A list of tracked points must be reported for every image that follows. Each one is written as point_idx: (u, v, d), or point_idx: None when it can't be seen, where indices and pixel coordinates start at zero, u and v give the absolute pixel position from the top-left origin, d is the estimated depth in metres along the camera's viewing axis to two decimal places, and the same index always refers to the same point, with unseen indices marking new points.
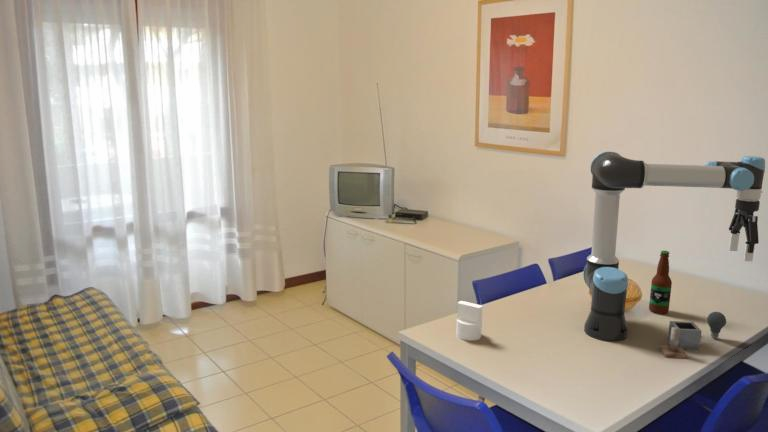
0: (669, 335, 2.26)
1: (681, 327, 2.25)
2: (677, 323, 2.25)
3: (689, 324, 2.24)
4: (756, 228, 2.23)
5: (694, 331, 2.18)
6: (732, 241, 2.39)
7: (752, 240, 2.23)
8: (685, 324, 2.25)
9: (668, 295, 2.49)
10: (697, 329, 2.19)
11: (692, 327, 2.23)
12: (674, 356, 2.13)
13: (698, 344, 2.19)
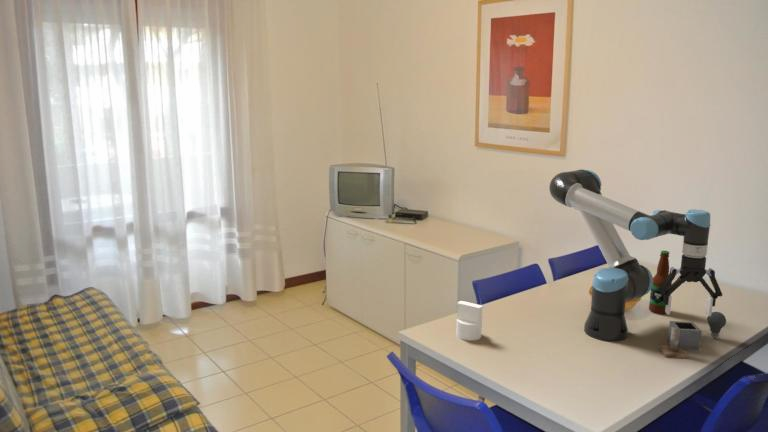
0: (669, 335, 2.26)
1: (681, 327, 2.25)
2: (677, 323, 2.25)
3: (689, 324, 2.24)
4: (668, 280, 2.18)
5: (694, 331, 2.18)
6: (707, 304, 2.20)
7: (659, 289, 2.21)
8: (685, 324, 2.25)
9: None
10: (697, 329, 2.19)
11: (692, 327, 2.23)
12: (674, 356, 2.13)
13: (698, 344, 2.19)
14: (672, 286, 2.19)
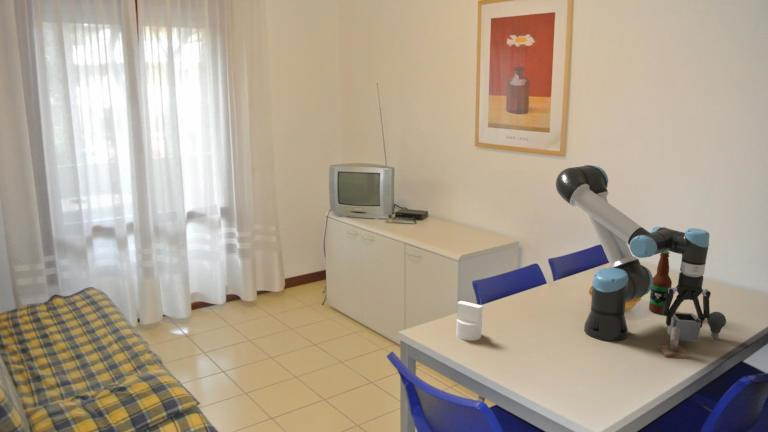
0: None
1: (680, 318, 2.25)
2: (676, 314, 2.25)
3: (688, 315, 2.24)
4: (667, 300, 2.20)
5: (693, 322, 2.18)
6: None
7: (662, 310, 2.23)
8: (684, 315, 2.24)
9: None
10: (696, 320, 2.19)
11: (691, 318, 2.23)
12: (674, 356, 2.13)
13: (697, 335, 2.19)
14: (673, 307, 2.21)
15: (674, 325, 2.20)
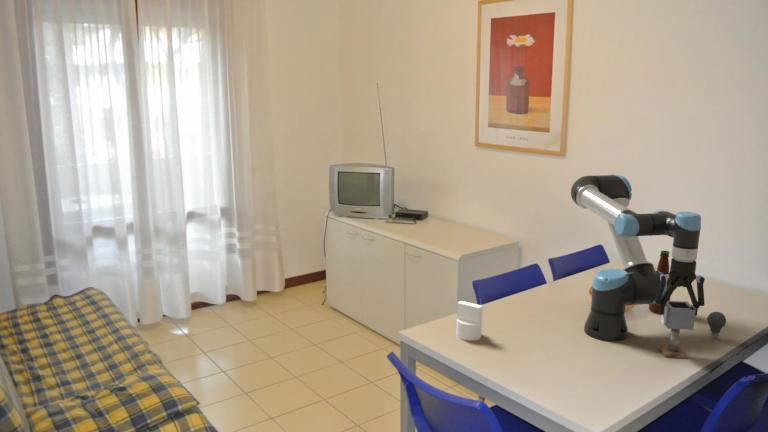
0: None
1: (674, 307, 2.15)
2: (670, 303, 2.15)
3: (683, 303, 2.15)
4: (659, 288, 2.11)
5: (688, 310, 2.08)
6: None
7: (655, 299, 2.14)
8: (679, 304, 2.15)
9: None
10: (691, 308, 2.09)
11: (686, 306, 2.13)
12: (674, 356, 2.13)
13: (692, 324, 2.09)
14: (665, 294, 2.12)
15: (667, 314, 2.11)
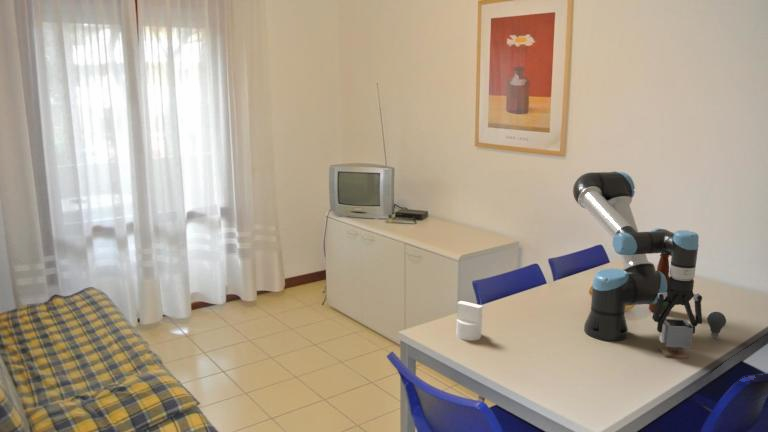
0: None
1: (672, 324, 2.17)
2: (668, 320, 2.17)
3: (681, 321, 2.16)
4: (657, 306, 2.12)
5: (685, 328, 2.10)
6: None
7: (653, 316, 2.15)
8: (676, 321, 2.16)
9: None
10: (689, 326, 2.11)
11: (684, 324, 2.15)
12: (674, 356, 2.13)
13: (690, 342, 2.10)
14: (663, 312, 2.13)
15: (665, 332, 2.12)
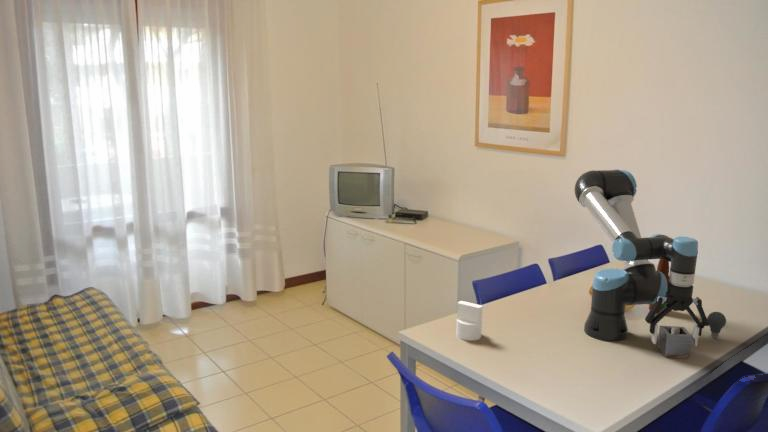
0: (659, 340, 2.19)
1: None
2: (667, 328, 2.17)
3: None
4: (654, 308, 2.13)
5: (684, 336, 2.11)
6: (693, 333, 2.15)
7: (646, 317, 2.15)
8: None
9: None
10: (687, 334, 2.11)
11: (682, 332, 2.15)
12: (674, 356, 2.13)
13: (689, 350, 2.11)
14: (658, 315, 2.14)
15: (664, 340, 2.13)
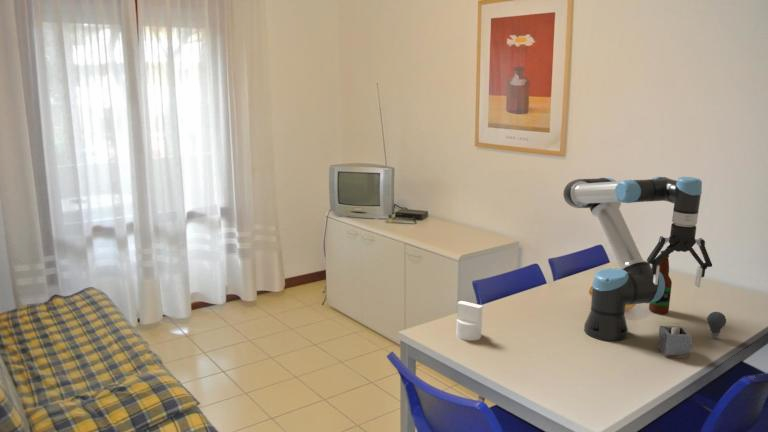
0: (659, 340, 2.19)
1: None
2: (667, 328, 2.17)
3: None
4: (656, 249, 2.13)
5: (684, 336, 2.11)
6: (696, 274, 2.14)
7: (647, 258, 2.15)
8: None
9: (668, 295, 2.49)
10: (687, 334, 2.11)
11: (682, 332, 2.15)
12: (674, 356, 2.13)
13: (689, 350, 2.11)
14: (660, 255, 2.13)
15: (664, 340, 2.13)
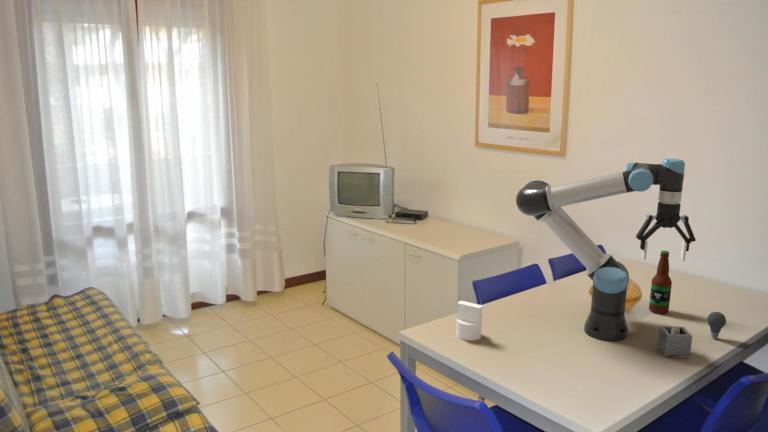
0: (659, 340, 2.19)
1: None
2: (667, 328, 2.17)
3: None
4: (644, 225, 2.30)
5: (684, 336, 2.11)
6: (681, 249, 2.32)
7: (636, 235, 2.33)
8: None
9: (668, 295, 2.49)
10: (687, 334, 2.11)
11: (682, 332, 2.15)
12: (674, 356, 2.13)
13: (689, 350, 2.11)
14: (648, 232, 2.31)
15: (664, 340, 2.13)
